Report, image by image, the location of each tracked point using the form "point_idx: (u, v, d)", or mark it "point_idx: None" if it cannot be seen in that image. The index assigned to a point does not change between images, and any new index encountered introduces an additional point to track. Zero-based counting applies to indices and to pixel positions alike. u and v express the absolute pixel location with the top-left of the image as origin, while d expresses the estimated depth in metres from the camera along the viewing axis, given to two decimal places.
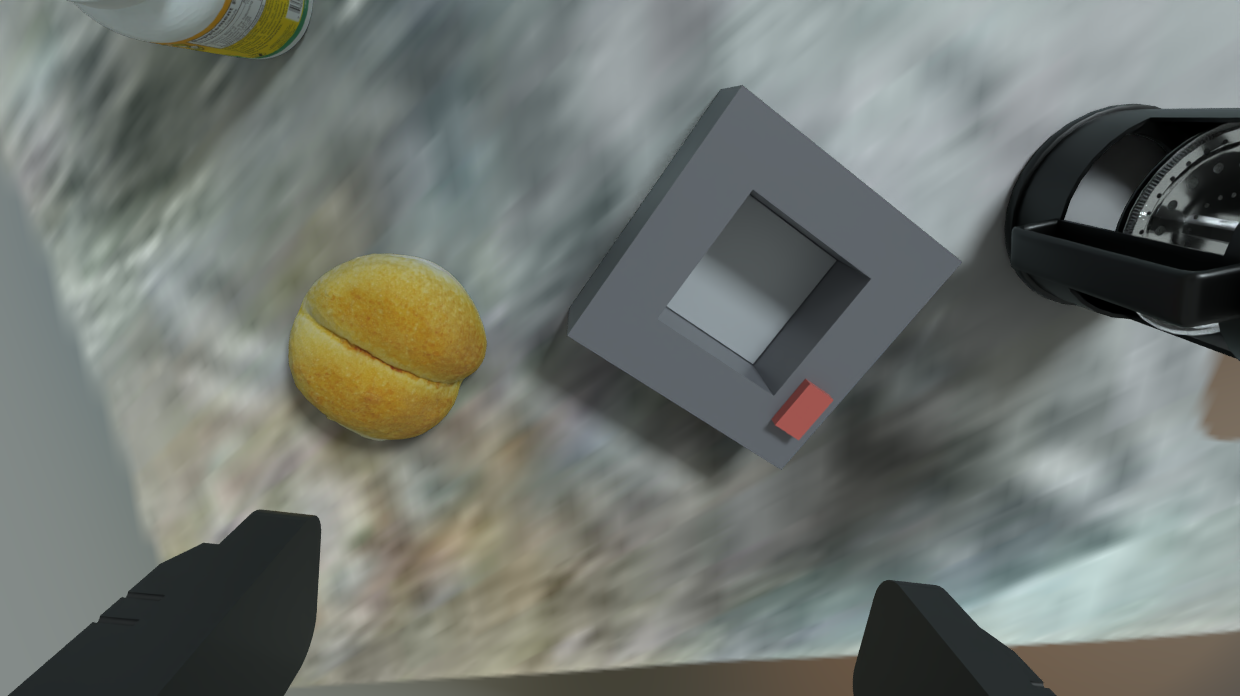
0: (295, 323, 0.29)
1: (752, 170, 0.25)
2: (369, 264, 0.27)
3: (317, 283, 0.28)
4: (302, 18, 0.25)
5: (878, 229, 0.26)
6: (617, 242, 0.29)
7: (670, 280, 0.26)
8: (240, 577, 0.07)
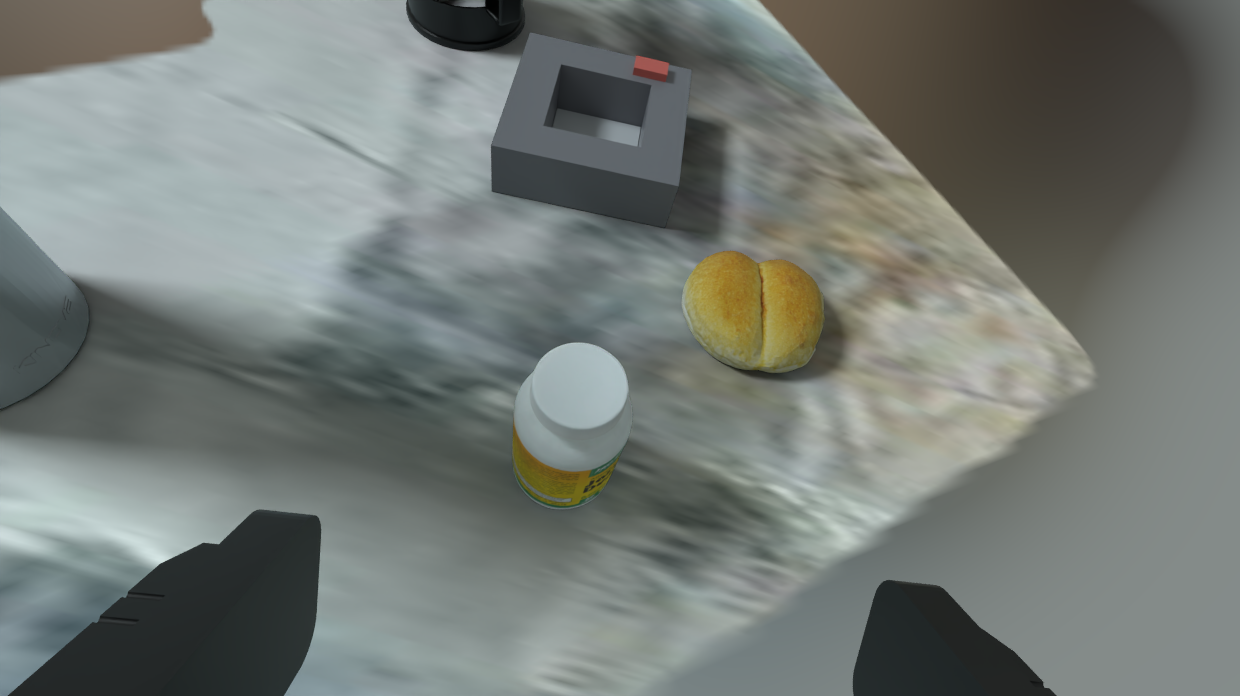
0: (772, 362, 0.38)
1: (533, 128, 0.41)
2: (703, 321, 0.38)
3: (736, 354, 0.37)
4: None
5: (533, 69, 0.43)
6: (608, 209, 0.43)
7: (615, 147, 0.41)
8: (240, 577, 0.07)
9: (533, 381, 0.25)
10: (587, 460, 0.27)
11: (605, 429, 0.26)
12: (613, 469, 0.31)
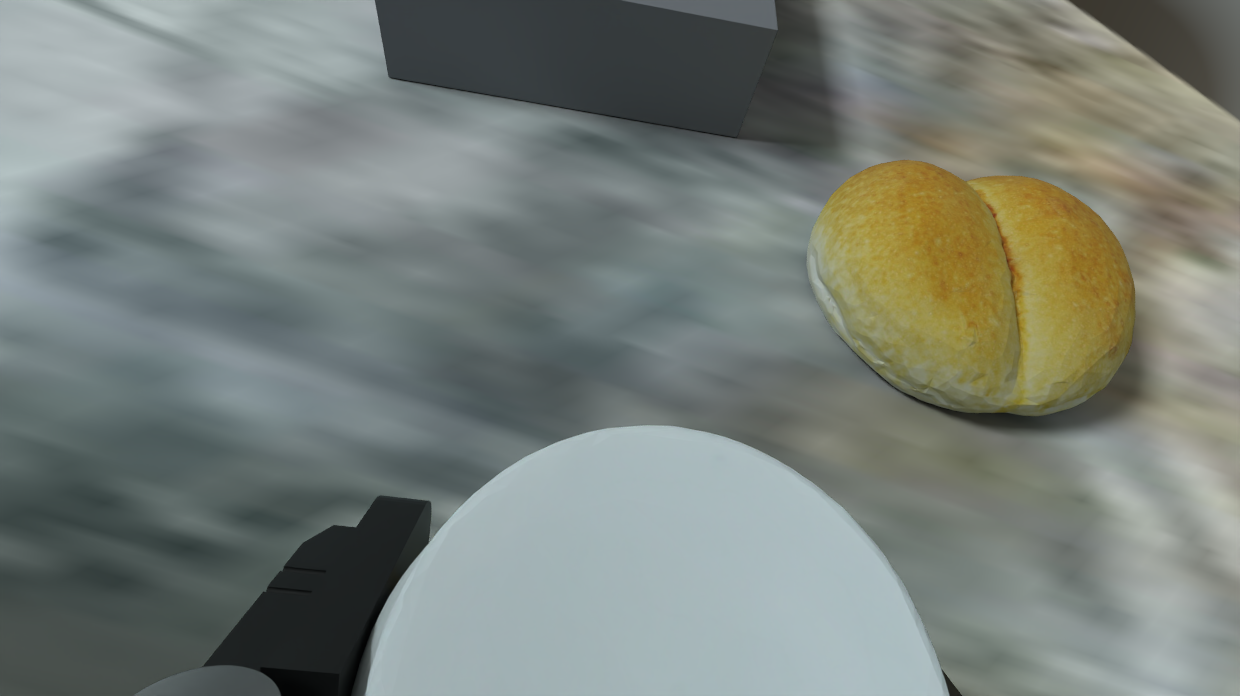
0: (1045, 395, 0.16)
1: None
2: (882, 309, 0.16)
3: (965, 381, 0.16)
4: None
5: None
6: (626, 101, 0.21)
7: None
8: (385, 553, 0.08)
9: None
10: None
11: None
12: None
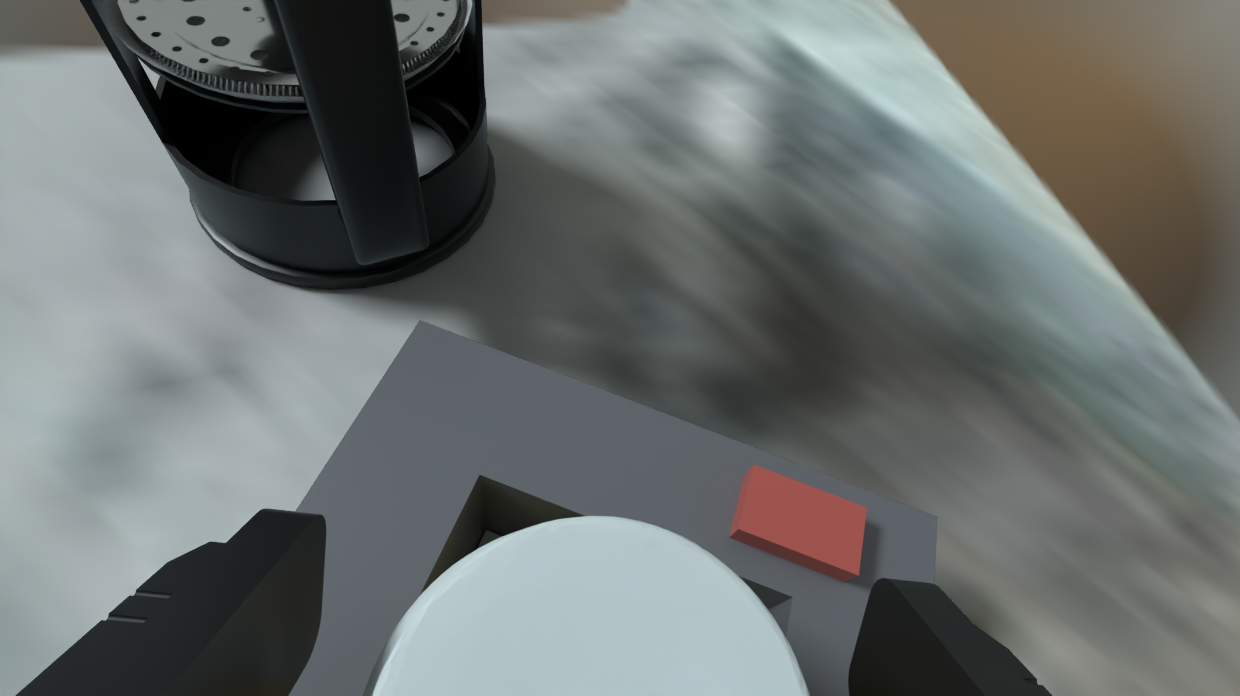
0: None
1: None
2: None
3: None
4: None
5: (366, 498, 0.12)
6: None
7: None
8: (247, 575, 0.07)
9: None
10: None
11: None
12: None
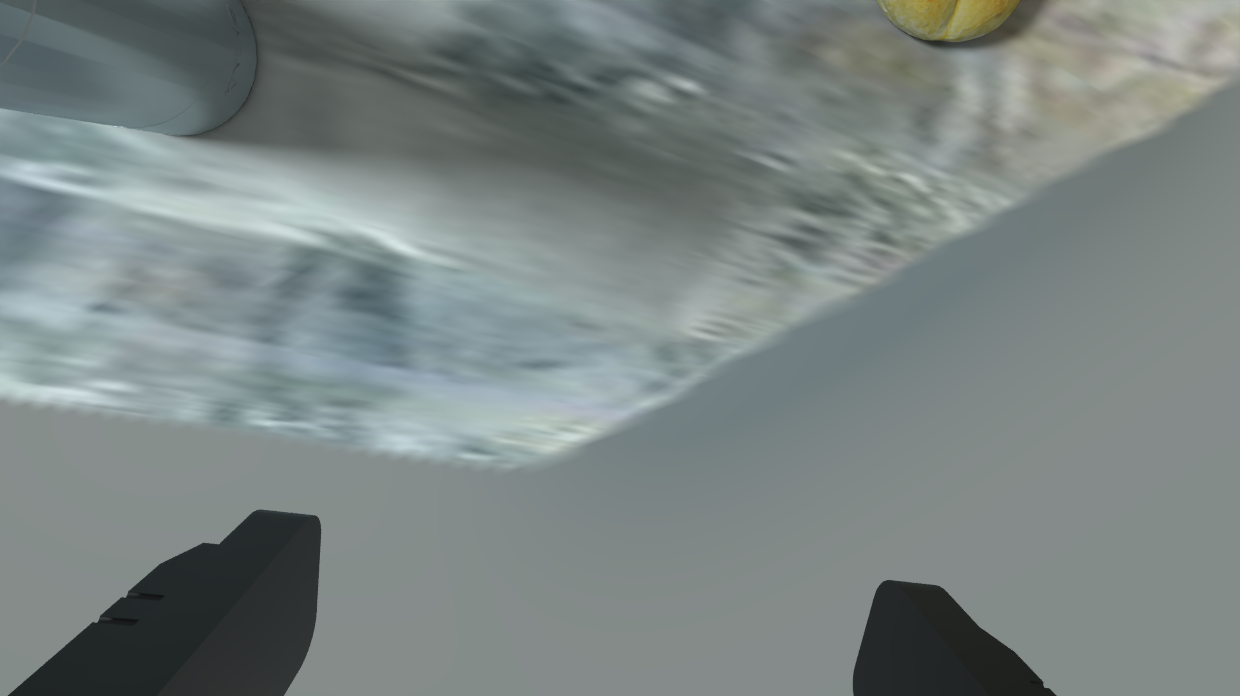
0: (958, 34, 0.35)
1: None
2: None
3: (919, 27, 0.34)
4: None
5: None
6: None
7: None
8: (240, 577, 0.07)
9: None
10: None
11: None
12: None
